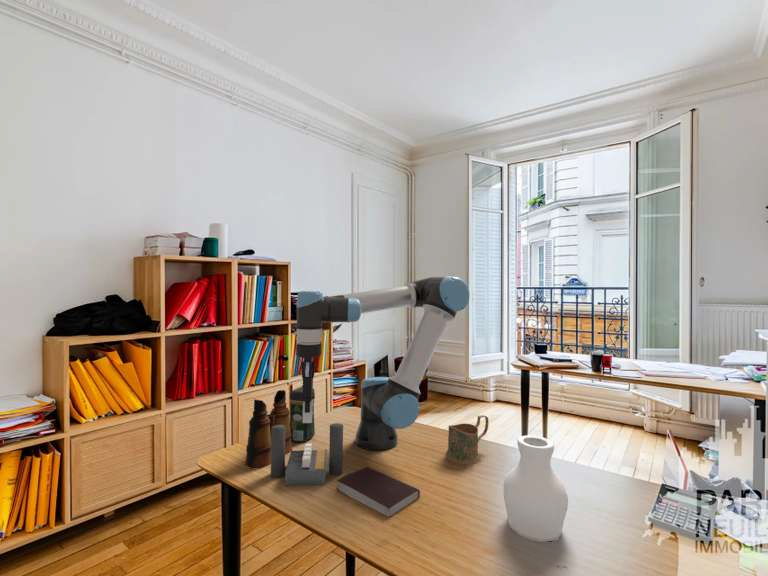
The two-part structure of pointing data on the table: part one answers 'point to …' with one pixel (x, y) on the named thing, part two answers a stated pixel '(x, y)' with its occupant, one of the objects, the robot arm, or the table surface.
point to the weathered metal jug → (464, 442)
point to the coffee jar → (300, 418)
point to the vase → (535, 492)
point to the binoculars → (266, 431)
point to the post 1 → (277, 451)
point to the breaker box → (306, 469)
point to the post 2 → (336, 449)
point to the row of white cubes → (307, 455)
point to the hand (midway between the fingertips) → (307, 422)
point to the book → (377, 490)
